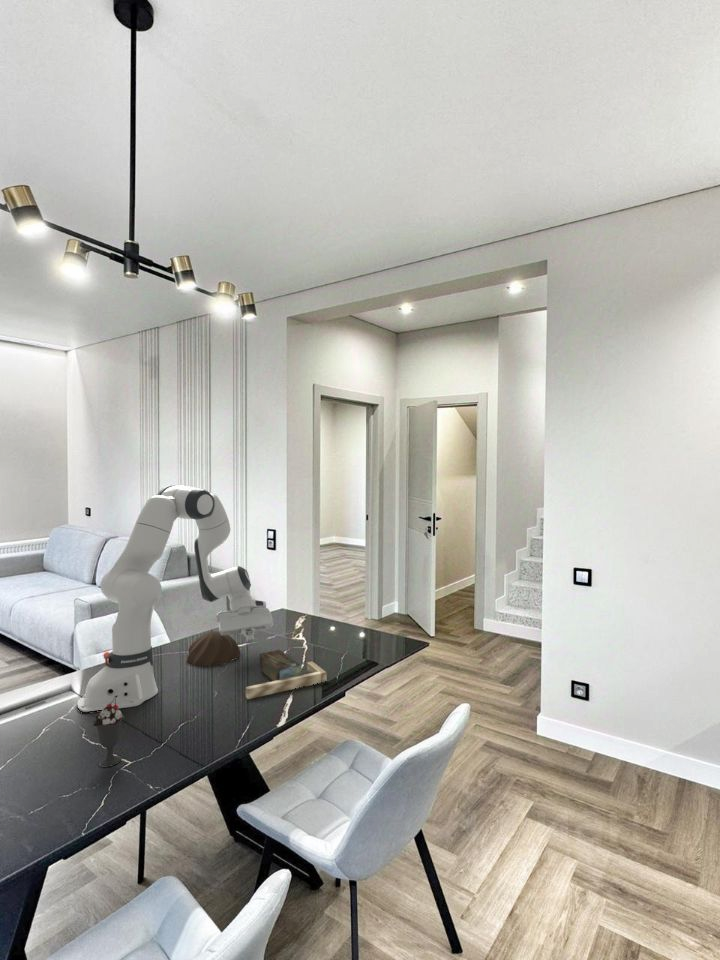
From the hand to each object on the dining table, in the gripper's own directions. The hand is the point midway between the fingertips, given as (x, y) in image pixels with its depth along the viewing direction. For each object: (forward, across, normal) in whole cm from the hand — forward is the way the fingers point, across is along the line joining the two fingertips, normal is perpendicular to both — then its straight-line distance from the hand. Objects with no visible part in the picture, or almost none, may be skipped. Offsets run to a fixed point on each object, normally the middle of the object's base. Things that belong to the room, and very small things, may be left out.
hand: (250, 640), depth 193 cm
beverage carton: (+21, +4, -11) cm, 24 cm away
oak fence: (+25, +2, -16) cm, 30 cm away
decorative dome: (-2, -11, +12) cm, 16 cm away
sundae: (+43, -49, -33) cm, 73 cm away
